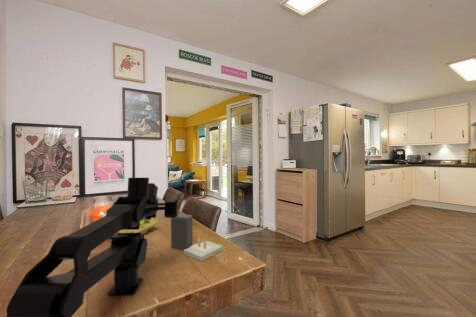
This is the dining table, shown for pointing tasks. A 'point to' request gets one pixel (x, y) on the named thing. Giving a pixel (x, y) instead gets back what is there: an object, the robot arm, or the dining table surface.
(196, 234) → the dining table surface
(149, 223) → the plastic component
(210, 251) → the board
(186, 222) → the block
